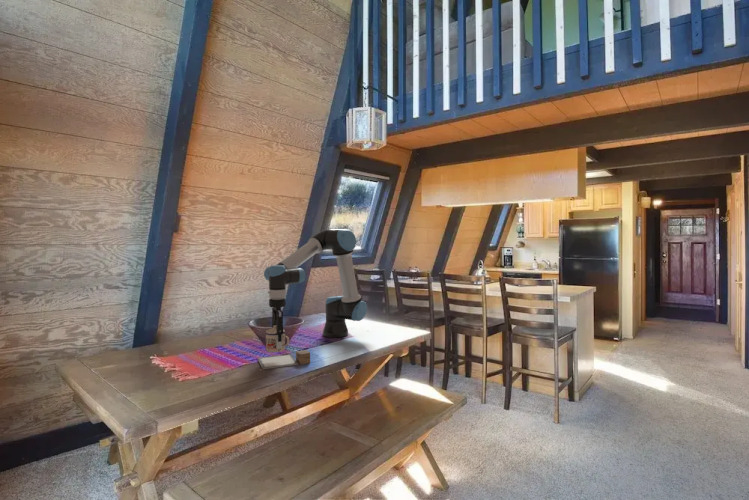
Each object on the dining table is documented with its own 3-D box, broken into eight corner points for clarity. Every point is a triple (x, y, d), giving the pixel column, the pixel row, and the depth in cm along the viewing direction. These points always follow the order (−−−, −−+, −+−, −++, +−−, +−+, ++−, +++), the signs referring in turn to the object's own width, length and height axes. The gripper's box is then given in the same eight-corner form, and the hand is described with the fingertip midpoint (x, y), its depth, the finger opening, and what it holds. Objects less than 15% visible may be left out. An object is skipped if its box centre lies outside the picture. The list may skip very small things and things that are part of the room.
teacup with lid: (261, 351, 192) (261, 326, 192) (272, 346, 201) (272, 322, 200) (283, 354, 188) (283, 328, 188) (294, 349, 197) (294, 324, 196)
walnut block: (296, 362, 196) (296, 351, 196) (305, 360, 199) (305, 350, 199) (300, 364, 192) (300, 354, 192) (310, 363, 195) (310, 352, 195)
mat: (257, 359, 200) (257, 357, 200) (290, 355, 206) (290, 354, 206) (262, 369, 185) (262, 367, 185) (298, 364, 192) (298, 363, 192)
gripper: (265, 295, 203) (265, 340, 204) (273, 302, 183) (273, 352, 184) (280, 294, 206) (280, 339, 207) (290, 301, 186) (290, 350, 187)
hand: (277, 345), depth 195 cm, fingers closed on teacup with lid, 9 cm apart
